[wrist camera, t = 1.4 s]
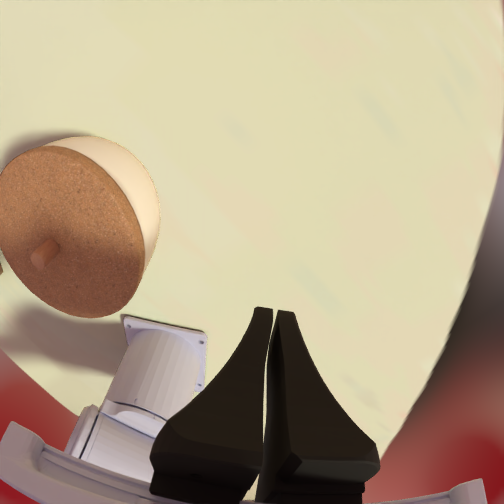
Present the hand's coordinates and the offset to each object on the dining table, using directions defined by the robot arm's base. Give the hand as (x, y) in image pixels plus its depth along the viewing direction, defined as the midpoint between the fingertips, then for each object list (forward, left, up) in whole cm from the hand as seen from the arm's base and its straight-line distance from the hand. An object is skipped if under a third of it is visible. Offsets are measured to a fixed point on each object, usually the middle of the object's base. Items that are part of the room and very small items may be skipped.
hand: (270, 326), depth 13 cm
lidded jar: (0, +12, -11) cm, 16 cm away
